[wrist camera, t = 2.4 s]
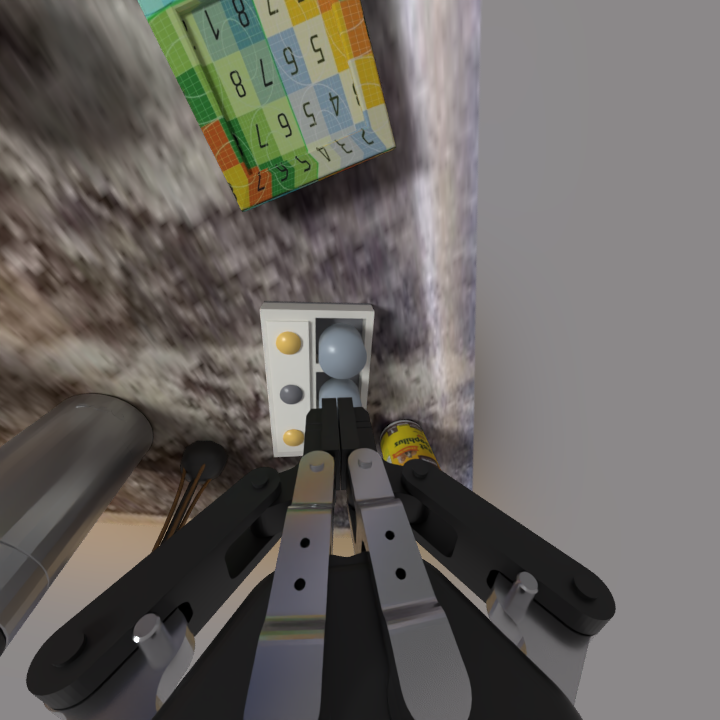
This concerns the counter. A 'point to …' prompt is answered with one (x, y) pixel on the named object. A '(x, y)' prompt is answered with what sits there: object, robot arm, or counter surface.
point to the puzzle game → (276, 88)
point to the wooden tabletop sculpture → (193, 481)
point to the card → (289, 381)
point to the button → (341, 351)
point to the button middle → (340, 391)
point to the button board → (318, 322)
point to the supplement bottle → (405, 443)
